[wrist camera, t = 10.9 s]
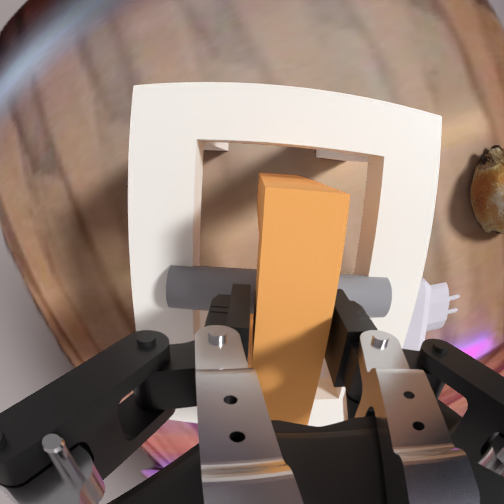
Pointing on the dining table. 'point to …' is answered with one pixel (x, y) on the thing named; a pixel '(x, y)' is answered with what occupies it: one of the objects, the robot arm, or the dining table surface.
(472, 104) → the dining table surface
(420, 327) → the charger
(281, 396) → the orange arch block
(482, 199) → the bread roll
